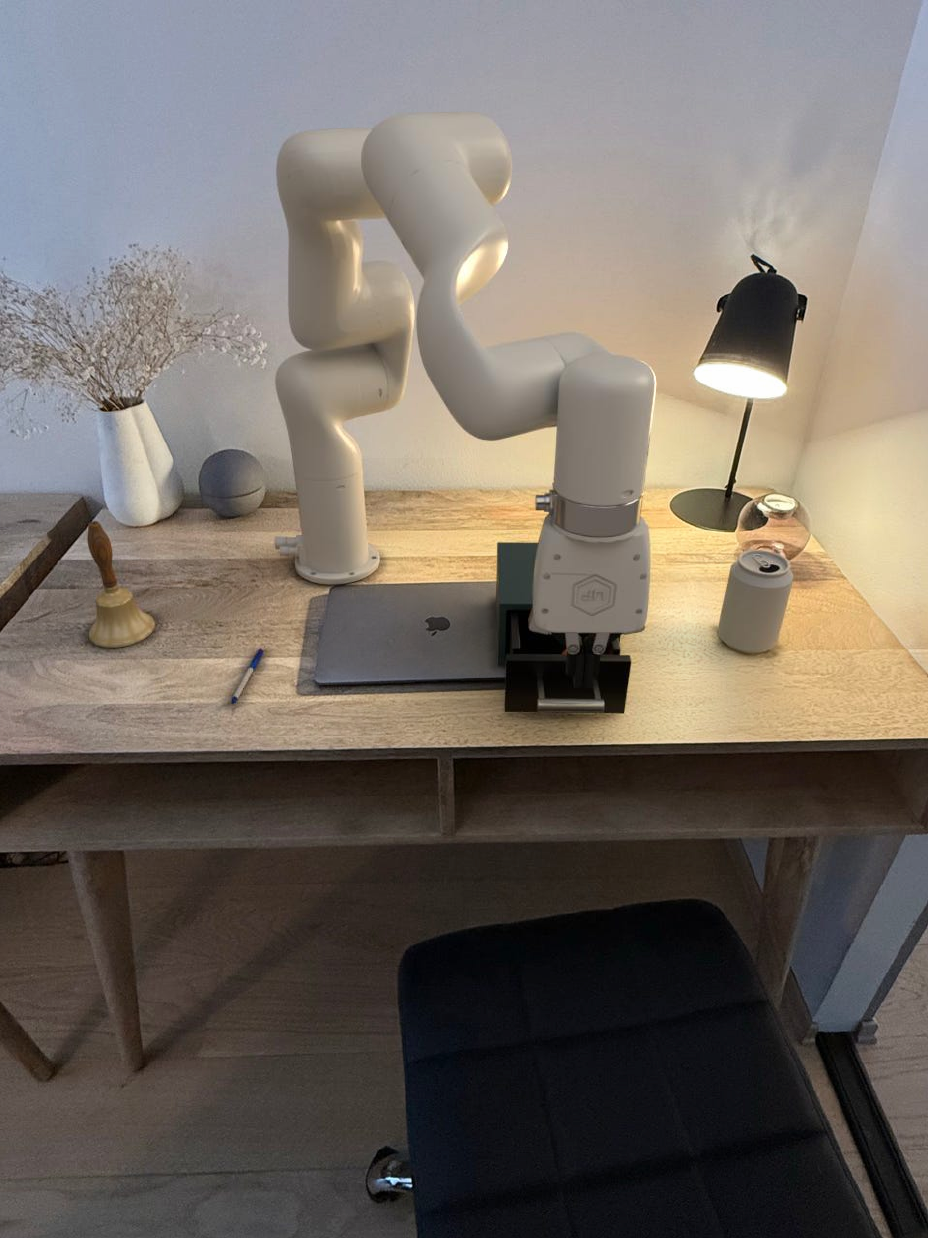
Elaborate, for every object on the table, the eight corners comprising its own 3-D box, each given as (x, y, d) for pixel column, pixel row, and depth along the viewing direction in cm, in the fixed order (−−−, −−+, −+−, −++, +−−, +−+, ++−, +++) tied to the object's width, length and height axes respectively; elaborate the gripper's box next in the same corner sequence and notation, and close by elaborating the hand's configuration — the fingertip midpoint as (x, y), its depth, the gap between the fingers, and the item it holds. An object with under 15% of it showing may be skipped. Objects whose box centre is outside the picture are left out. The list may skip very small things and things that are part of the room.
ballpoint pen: (257, 652, 105) (256, 645, 104) (264, 652, 105) (263, 646, 104) (230, 705, 96) (229, 698, 96) (238, 705, 96) (236, 698, 96)
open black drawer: (630, 743, 89) (638, 689, 85) (505, 741, 90) (507, 688, 86) (608, 642, 105) (614, 592, 101) (501, 641, 105) (503, 591, 101)
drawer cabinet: (616, 667, 102) (624, 604, 97) (497, 666, 102) (499, 603, 97) (601, 601, 115) (608, 542, 110) (495, 600, 115) (497, 541, 110)
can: (744, 663, 103) (764, 581, 96) (704, 633, 108) (719, 553, 102) (788, 647, 106) (810, 566, 99) (747, 618, 111) (765, 540, 105)
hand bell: (168, 619, 111) (142, 512, 103) (128, 653, 105) (97, 542, 96) (117, 608, 114) (87, 503, 105) (75, 641, 107) (40, 532, 98)
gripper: (509, 527, 67) (505, 704, 77) (694, 528, 67) (665, 704, 77) (507, 489, 73) (503, 657, 83) (675, 489, 73) (651, 657, 83)
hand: (581, 679), depth 80 cm, fingers closed
